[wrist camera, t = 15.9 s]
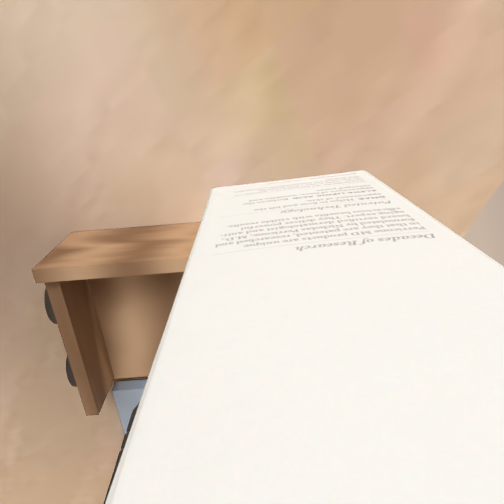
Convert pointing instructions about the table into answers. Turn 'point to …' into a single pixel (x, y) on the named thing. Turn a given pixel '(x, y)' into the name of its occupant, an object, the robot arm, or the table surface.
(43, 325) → the table surface
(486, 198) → the table surface
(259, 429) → the skincare box
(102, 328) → the wooden toy cart
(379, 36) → the table surface
